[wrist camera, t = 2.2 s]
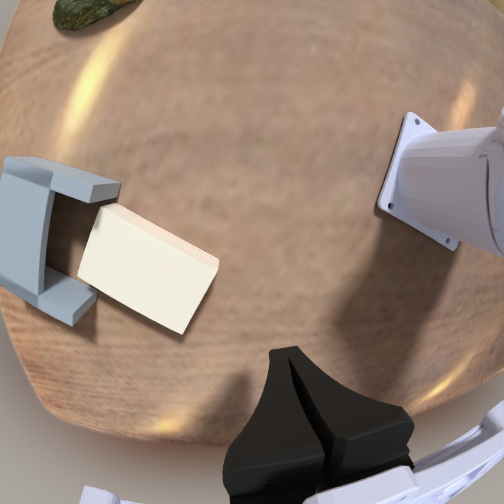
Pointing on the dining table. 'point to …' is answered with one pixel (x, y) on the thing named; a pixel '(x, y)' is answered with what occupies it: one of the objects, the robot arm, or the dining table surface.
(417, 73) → the dining table surface
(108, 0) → the seashell
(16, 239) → the bracket
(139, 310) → the cream rectangular block
